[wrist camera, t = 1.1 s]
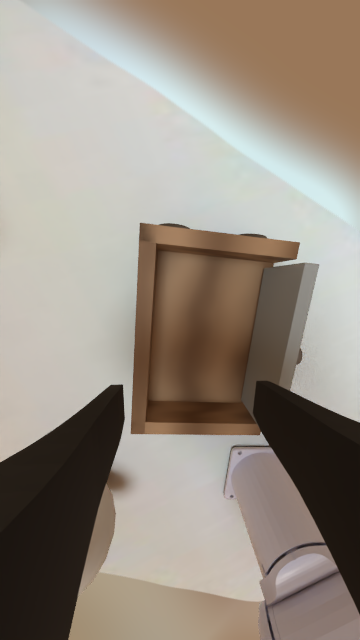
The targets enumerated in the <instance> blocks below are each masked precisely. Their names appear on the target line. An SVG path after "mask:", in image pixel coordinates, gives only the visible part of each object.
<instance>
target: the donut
mask: <svg viewBox="0 0 360 640" xmlns="http://www.w3.org/2000/svg"><path fill="white" fill-rule="evenodd" d="M115 515H116V513H115V507H114V501H113V495H112V493H111V491H110V489H109V487H108V485H107V483H106V485H105V488H104V491H103V495H102V498H101V501H100V505H99V508H98V512H97V516H96V521H95V525H94V529H93V533H92V537H91V541H90V545H89V549H88V554H87V558H86V562H85V567H84V571H83V575H82V579H81V584H80V588H79V593H78V597H79V596H80V595H81V594H82V592H83V591H84V590H85V589H86V588H87V587H88V586H89V585H90V584H91V583H92V581H93V580H94V578H95V577H96V574H97V573H98V571H99V570H100V568H101V566H102V565H103V563H104V561H105V559H106V557H107V554H108V550H109V547H110V544H111V541H112V538H113V535H114V528H115ZM78 597H77V598H78Z"/></svg>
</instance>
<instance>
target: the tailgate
mask: <svg viewBox="0 0 360 640" xmlns="http://www.w3.org/2000/svg"><path fill="white" fill-rule="evenodd" d="M318 268H319V264H312V263H299V264H292V265H285V266H278V267H270V268H264V272H263V278H262V284H261V289H260V295H259V301H258V306H257V312H256V318H255V323H254V329H253V335H252V340H251V346H250V352H249V357H248V363H247V369H246V374H245V380H244V386H243V392H242V397H241V401H242V402H243V404H244V405H245V407H246V408H247V410H248V411H249V413H250V414H251V416H252V417H253V419H254V421H255V422H256V420H255V418H254V415H253V406H254V397H255V388H256V381H270V382H272V383H274V384H277V385H279V386H281V387H283V388H285V389H287V390H289V391H290V388H291V384H292V379H293V375H294V371H295V367H296V365H297V364H299V363H300V362H301V360H302V351H301V349H300V345H301V341H302V336H303V332H304V328H305V324H306V319H307V315H308V311H309V306H310V302H311V298H312V294H313V289H314V285H315V281H316V276H317V272H318ZM256 424H257V422H256ZM257 425H258V424H257ZM258 427H259V426H258Z"/></svg>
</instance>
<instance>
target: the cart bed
mask: <svg viewBox="0 0 360 640" xmlns="http://www.w3.org/2000/svg"><path fill="white" fill-rule="evenodd" d="M299 245H300V243H299V242H291V241H283V240H274V239H267V237H266V236H264V235H259V234H240V235H234V234H226V233H218V232H210V231H202V230H193V229H190V228H188V227H186V226H183V225H179V224H170V223H167V224H160V225H153V224H145V223H140V234H139V257H138V280H137V303H136V326H135V349H134V372H133V395H132V418H131V434H195V435H260V432H261V430H260V428H259V427H258V425H257V424H256V422H255V421H254V419H253V417H252V416H251V414H250V413H249V411H248V410H247V408H246V407H245V405H244V404H243V402H242V401H241V397H242V392H243V386H244V380H245V374H246V369H247V363H248V357H249V352H250V346H251V340H252V335H253V329H254V323H255V318H256V312H257V306H258V301H259V295H260V289H261V284H262V278H263V272H264V268H270V267H273V264H274V263H277V262H282V261H288V260H294V259H297V254H298V249H299Z"/></svg>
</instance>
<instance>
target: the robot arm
mask: <svg viewBox="0 0 360 640" xmlns="http://www.w3.org/2000/svg"><path fill="white" fill-rule="evenodd" d="M253 415H254V418H255V420H256V422H257V424H258V426H259V428H260V430H261V432H262V434H263V435H264V437H265V439H266V440H267V442H268V443H269V445H270V447H234V448H232V450H231V455H230V461H229V466H228V472H227V478H226V484H225V489H224V497H225V498H226V499H237V501H238V504H239V507H240V510H241V513H242V516H243V519H244V522H245V525H246V528H247V531H248V534H249V537H250V540H251V543H252V546H253V549H254V552H255V555H256V558H257V561H258V564H259V567H260V570H261V573H262V576H263V579H262V580H260V586H261V589H262V592H263V595H264V598H265V600H264V601H262V602H261V603H260V605H259V620H258V623H259V624H258V626H259V634H260V640H360V423H359V422H357V421H354V420H351V419H349V418H346V417H344V416H342V415H339V414H337V413H335V412H333V411H330V410H328V409H326V408H324V407H322V406H319V405H317V404H315V403H313V402H311V401H309V400H307V399H305V398H303V397H301V396H299V395H297V394H295V393H293V392H291V391H289V390H287V389H285V388H283V387H281V386H279V385H277V384H274V383H272V382H270V381H256V388H255V397H254V406H253ZM124 420H125V417H124V397H123V385H110V386H109V387H108V388H106V389H105V390H104V391H103V392H102V393H101V394H99V395H98V396H97V397H96V398H95V399H93V400H92V401H91V402H90V403H89V404H87V405H86V406H85V407H84V408H83V409H81V410H80V411H79V412H77V413H76V414H75V415H73V416H72V417H71V418H69V419H68V420H67V421H65V422H64V423H63V424H61V425H60V426H59V427H57V428H56V429H54V430H53V431H51V432H50V433H48V434H47V435H45V436H44V437H42V438H41V439H39V440H38V441H36V442H35V443H33V444H31V445H30V446H28V447H26V448H25V449H23V450H21V451H19V452H18V453H16V454H14V455H12V456H11V457H9V458H7V459H6V460H4V461H2V462H0V640H68V638H69V633H70V629H71V624H72V619H73V615H74V611H75V606H76V602H77V597H78V593H79V588H80V584H81V579H82V575H83V571H84V567H85V562H86V558H87V554H88V549H89V545H90V541H91V537H92V533H93V529H94V525H95V521H96V516H97V512H98V508H99V505H100V501H101V498H102V495H103V491H104V488H105V485H106V482H107V479H108V476H109V473H110V470H111V467H112V464H113V461H114V458H115V455H116V452H117V449H118V446H119V442H120V439H121V434H122V430H123V425H124ZM239 451H240V452H239Z"/></svg>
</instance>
